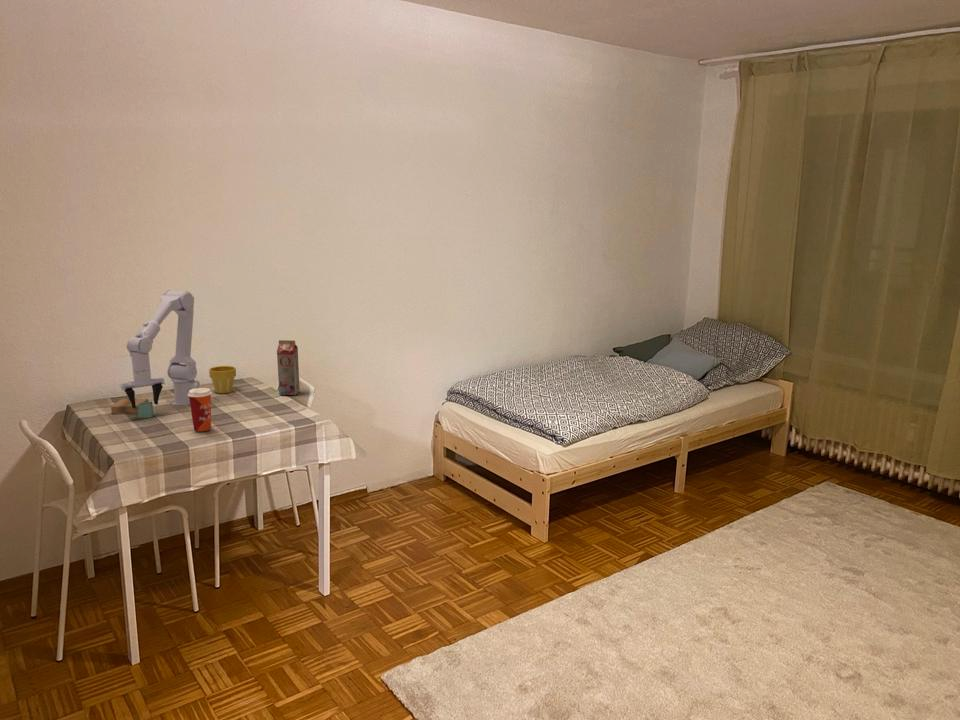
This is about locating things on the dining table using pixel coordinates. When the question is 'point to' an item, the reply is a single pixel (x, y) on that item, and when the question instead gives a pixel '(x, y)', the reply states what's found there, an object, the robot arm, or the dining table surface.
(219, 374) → the plant pot
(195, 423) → the paper cup
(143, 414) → the teal block
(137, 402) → the walnut plinth
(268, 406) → the dining table surface
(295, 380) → the juice carton
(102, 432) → the dining table surface
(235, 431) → the dining table surface
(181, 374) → the robot arm
